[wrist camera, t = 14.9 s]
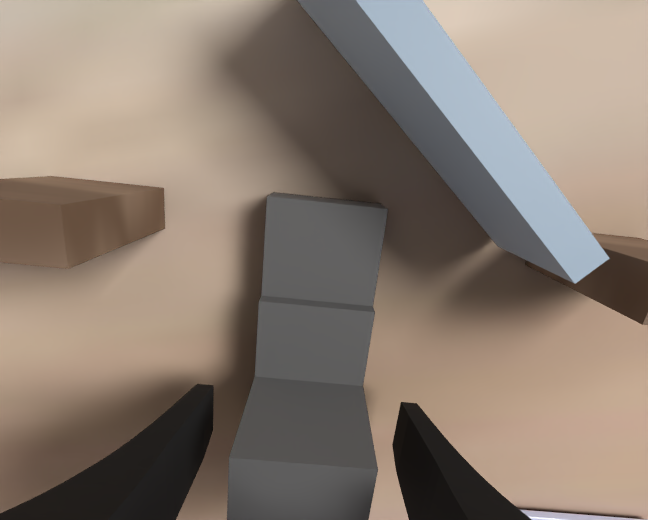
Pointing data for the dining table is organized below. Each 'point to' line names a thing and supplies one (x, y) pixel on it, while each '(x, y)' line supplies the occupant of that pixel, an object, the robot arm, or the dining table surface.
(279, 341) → the notched block
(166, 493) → the robot arm
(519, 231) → the door leaf
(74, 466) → the dining table surface
